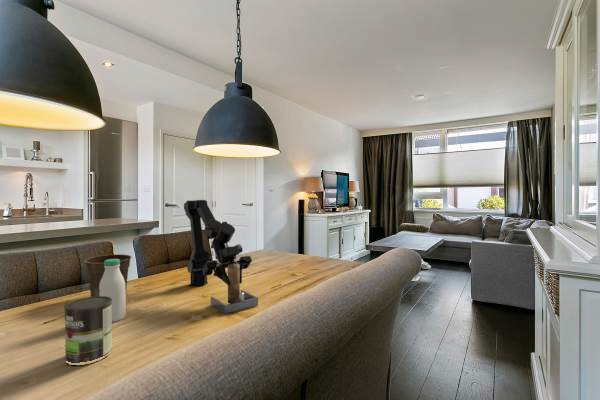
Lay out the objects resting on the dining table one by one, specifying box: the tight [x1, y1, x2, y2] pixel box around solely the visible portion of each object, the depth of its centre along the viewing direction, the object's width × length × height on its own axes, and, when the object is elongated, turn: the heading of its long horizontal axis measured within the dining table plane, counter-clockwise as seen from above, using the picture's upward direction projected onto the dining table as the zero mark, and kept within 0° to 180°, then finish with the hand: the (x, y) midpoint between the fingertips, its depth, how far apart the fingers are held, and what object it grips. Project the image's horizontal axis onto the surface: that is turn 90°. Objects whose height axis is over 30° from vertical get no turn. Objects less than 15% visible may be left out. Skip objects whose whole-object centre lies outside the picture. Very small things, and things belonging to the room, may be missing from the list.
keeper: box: [210, 290, 259, 315], centre depth 118 cm, size 12×14×6 cm
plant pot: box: [84, 254, 132, 297], centre depth 127 cm, size 16×16×16 cm
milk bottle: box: [99, 259, 127, 323], centre depth 106 cm, size 8×8×20 cm
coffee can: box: [63, 296, 113, 363], centre depth 82 cm, size 10×10×14 cm
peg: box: [227, 264, 241, 304], centre depth 119 cm, size 4×4×14 cm
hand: (235, 284), depth 118 cm, fingers closed on peg, 4 cm apart
